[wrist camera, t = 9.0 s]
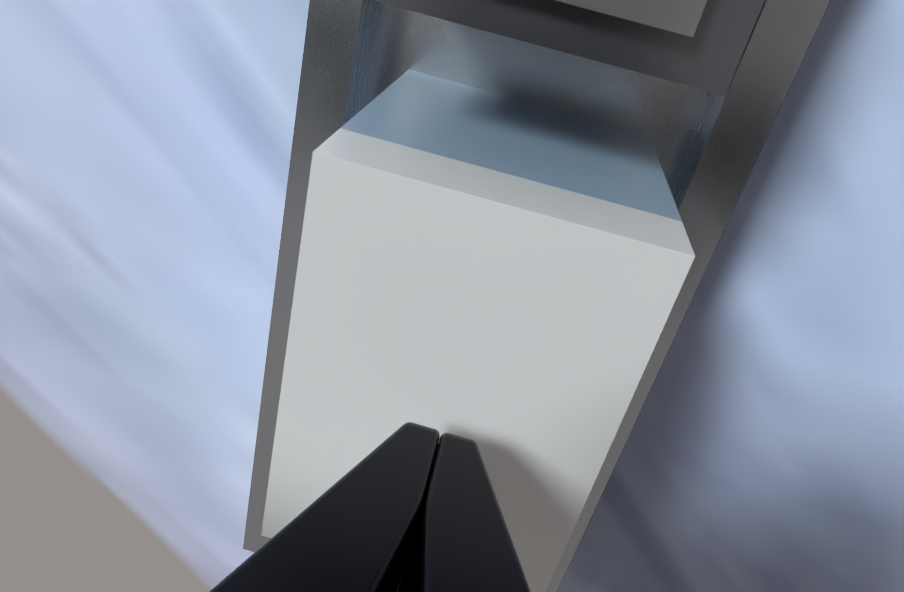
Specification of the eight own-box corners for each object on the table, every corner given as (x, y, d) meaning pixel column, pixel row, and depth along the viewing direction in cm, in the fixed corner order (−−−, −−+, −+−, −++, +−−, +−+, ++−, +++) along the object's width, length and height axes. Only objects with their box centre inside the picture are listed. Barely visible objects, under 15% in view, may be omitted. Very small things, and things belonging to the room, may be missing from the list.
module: (649, 134, 12) (695, 257, 7) (546, 409, 15) (535, 614, 10) (408, 69, 12) (312, 151, 7) (353, 355, 15) (261, 535, 10)
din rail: (891, -219, 10) (1181, -354, 5) (548, 561, 18) (540, 787, 14) (386, -349, 10) (222, -594, 5) (270, 482, 18) (163, 676, 14)
